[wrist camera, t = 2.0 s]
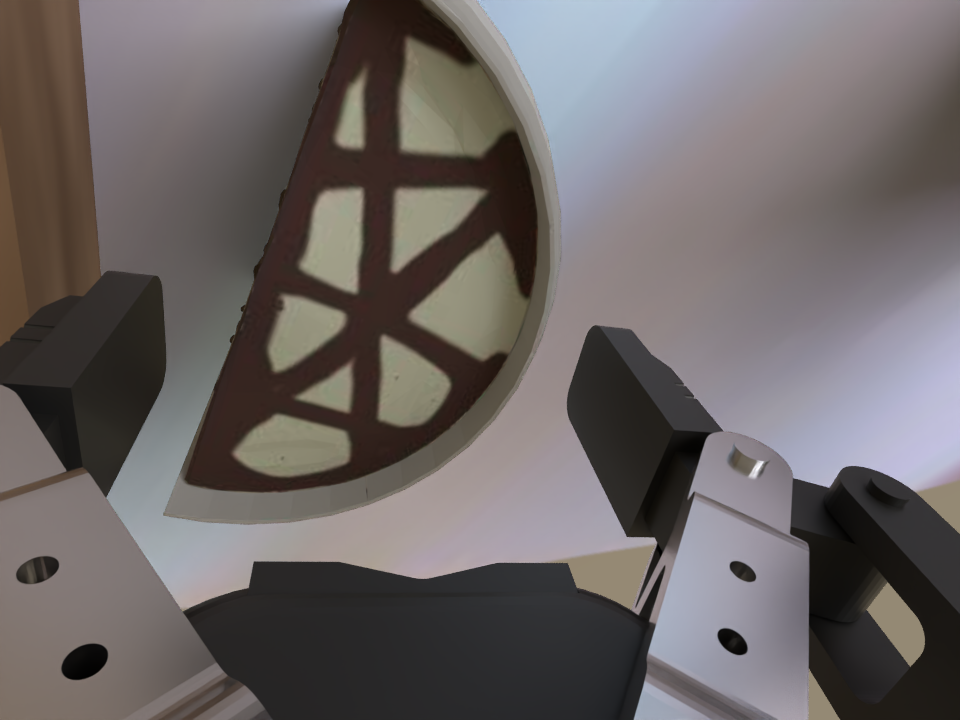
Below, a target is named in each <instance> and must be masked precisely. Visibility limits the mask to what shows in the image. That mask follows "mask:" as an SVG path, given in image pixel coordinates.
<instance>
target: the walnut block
mask: <svg viewBox="0 0 960 720" xmlns="http://www.w3.org/2000/svg"><path fill="white" fill-rule="evenodd" d="M100 278H101V271H100V258H99V246H98V234H97V222H96V209H95V197H94V185H93V172H92V160H91V148H90V136H89V123H88V111H87V99H86V86H85V74H84V62H83V49H82V37H81V25H80V13H79V0H0V347H1V346H2V345H3V344H4V343H5V342H6V341H10V337H11V336H12V335H13V334H14V333H15V332H16V331H17V330H18V329H19V328H20V327H24V323H25V322H26V321H28V320H29V319H30V318H31V317H32V316H33V315H34V314H35V313H36V312H37V311H38V310H39V309H40V308H41V307H43V306H46V305H48V304H50V303H53V302H55V301H57V300H59V299H62V298H64V297H66V296H69V295H73V296H84V295H85V294H86V293H87V292H88V291H89V290H90V289H91V287H92V286H93V285H94V284H95V283H96V282H97V281H98V280H99V279H100Z"/></svg>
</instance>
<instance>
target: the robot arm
mask: <svg viewBox="0 0 960 720" xmlns="http://www.w3.org/2000/svg"><path fill="white" fill-rule="evenodd" d="M165 371H166V343H165V326H164V309H163V293H162V285H161V281H160V279H159V277H158V276H152V275H143V274H134V273H125V272H116V271H107V272H106V273H104V275H103V276H102V277H101V278H100V279H99V280H98V281H97V282H96V283H95V284H94V285H93V286H92V287H91V289H90V290H89V291H88V292H87V293H86V294H85V295H84V296H73V295H69V296H66V297H64V298H62V299H59V300H57V301H55V302H53V303H50V304H48V305H46V306H43V307H41V308H40V309H39V310H38V311H37V312H36V313H35V314H34V315H33V316H32V317H31V318H30V319H29V320H28V321H26V322H25V323H24V327H20V328H19V329H18V330H17V331H16V332H15V333H14V334H13V335H12V336H11V337H10V341H6V342H5V343H4V344H3V345H2V346H1V347H0V720H808V675H809V671H808V670H809V669H810V671H811V673H812V674H813V676H814V678H815V679H816V681H817V682H818V684H819V686H820V687H821V689H822V690H823V692H824V694H825V696H826V697H827V699H828V700H829V702H830V704H831V705H832V707H833V709H834V710H835V712H836V714H837V715H838V717H839V718H840V720H960V534H959V533H958V532H957V531H956V530H955V529H954V528H953V527H952V526H951V525H950V524H948V523H947V522H946V521H945V520H944V519H943V518H942V517H941V516H940V515H939V514H938V513H937V512H936V511H935V510H934V509H933V508H932V507H931V506H930V505H928V504H927V503H926V502H925V501H924V500H923V499H922V498H921V497H920V496H919V495H918V494H917V493H915V492H914V491H913V490H911V489H910V488H909V487H907V486H905V485H904V484H902V483H901V482H899V481H897V480H895V479H894V478H892V477H890V476H888V475H885V474H883V473H880V472H878V471H875V470H872V469H868V468H865V467H859V466H849V467H845V468H843V469H842V470H841V471H840V472H839V474H838V476H837V477H836V479H835V480H834V482H833V483H832V485H831V487H830V488H828V487H824V486H820V485H816V484H813V483H809V482H805V481H802V480H798V479H794V478H793V474H792V471H791V468H790V467H789V465H788V464H787V462H786V461H785V460H784V459H783V458H782V457H781V456H780V455H779V454H778V453H776V452H775V451H774V450H772V449H771V448H769V447H768V446H766V445H764V444H763V443H761V442H759V441H757V440H755V439H752V438H750V437H747V436H744V435H741V434H737V433H732V432H724V431H723V430H722V429H721V428H720V427H719V425H718V424H717V423H716V422H715V421H714V419H713V418H712V417H711V416H710V415H709V413H708V412H707V411H706V410H705V409H704V407H703V406H702V405H701V404H700V403H699V401H698V400H697V399H694V395H693V394H692V393H691V392H690V390H689V389H688V388H687V387H686V386H683V384H684V383H683V382H682V381H681V380H680V378H679V377H678V376H677V375H676V374H675V372H674V371H673V370H672V369H671V368H670V367H668V366H667V365H666V364H664V363H663V362H661V361H660V360H658V359H657V358H656V357H654V356H653V355H651V353H650V352H649V351H648V350H647V349H646V347H645V346H644V345H643V344H642V342H641V341H640V340H639V339H638V337H637V336H636V335H635V334H634V332H633V331H632V330H630V329H623V328H614V327H605V326H593V327H592V328H591V329H590V330H589V332H588V334H587V336H586V338H585V342H584V345H583V348H582V351H581V354H580V357H579V360H578V363H577V366H576V369H575V372H574V376H573V379H572V382H571V385H570V388H569V392H568V397H567V412H568V417H569V420H570V422H571V424H572V426H573V428H574V430H575V432H576V434H577V436H578V438H579V440H580V442H581V444H582V446H583V448H584V450H585V452H586V454H587V456H588V458H589V460H590V463H591V465H592V467H593V469H594V471H595V473H596V475H597V477H598V479H599V481H600V483H601V485H602V487H603V489H604V491H605V493H606V495H607V497H608V499H609V501H610V503H611V505H612V507H613V509H614V511H615V513H616V515H617V517H618V520H619V522H620V524H621V526H622V528H623V530H624V532H625V534H626V536H627V537H655V539H656V541H657V543H656V545H655V547H654V550H653V552H652V554H651V556H650V558H649V561H648V564H647V567H646V569H645V572H644V575H643V578H642V581H641V584H640V586H639V589H638V592H637V595H636V598H635V600H634V603H633V606H632V609H631V610H630V609H628V608H626V607H624V606H623V605H621V604H619V603H617V602H615V601H613V600H611V599H608V598H606V597H603V596H601V595H598V594H596V593H592V592H589V591H586V590H584V589H579V588H576V585H575V582H574V579H573V577H572V574H571V571H570V568H569V566H568V564H567V563H495V564H491V565H486V566H482V567H478V568H473V569H469V570H465V571H460V572H456V573H452V574H447V575H443V576H438V577H434V578H429V579H416V578H411V577H406V576H401V575H397V574H392V573H387V572H383V571H378V570H373V569H369V568H364V567H359V566H355V565H350V564H346V563H341V562H254V564H253V569H252V574H251V579H250V585H249V588H247V589H243V590H239V591H234V592H231V593H228V594H224V595H221V596H218V597H215V598H212V599H210V600H207V601H205V602H202V603H200V604H198V605H195V606H193V607H191V608H189V609H187V610H185V611H183V612H182V610H181V609H180V607H179V606H178V604H177V603H176V601H175V600H174V598H173V597H172V595H171V594H170V592H169V591H168V589H167V588H166V586H165V585H164V583H163V582H162V581H161V579H160V578H159V576H158V575H157V573H156V572H155V570H154V569H153V567H152V566H151V564H150V563H149V561H148V560H147V558H146V557H145V555H144V554H143V552H142V551H141V549H140V548H139V546H138V545H137V543H136V542H135V540H134V539H133V537H132V536H131V534H130V533H129V532H128V530H127V529H126V527H125V526H124V524H123V523H122V521H121V520H120V518H119V517H118V515H117V514H116V512H115V511H114V509H113V508H112V506H111V505H110V503H109V502H108V500H107V499H106V497H107V495H108V493H109V491H110V489H111V487H112V485H113V483H114V481H115V479H116V477H117V475H118V473H119V471H120V469H121V467H122V465H123V463H124V461H125V460H126V458H127V456H128V454H129V452H130V450H131V448H132V446H133V444H134V442H135V440H136V438H137V436H138V434H139V432H140V430H141V428H142V426H143V424H144V422H145V420H146V418H147V416H148V414H149V412H150V410H151V408H152V407H153V405H154V403H155V401H156V399H157V397H158V395H159V393H160V391H161V388H162V385H163V382H164V377H165ZM887 582H888V583H889V584H890V585H891V586H892V587H893V589H894V590H895V591H896V592H897V593H898V594H899V596H900V597H901V598H902V599H903V600H904V602H905V603H906V604H907V605H908V607H909V608H910V609H911V610H912V611H913V613H914V614H915V615H916V616H917V617H918V619H919V621H920V623H921V625H922V627H923V631H924V635H925V647H924V651H923V653H922V654H921V656H920V657H919V658H918V659H917V660H916V662H915V663H914V664H913V665H912V666H911V667H910V666H909V665H908V664H907V662H906V661H905V660H904V658H903V657H902V656H901V654H900V653H899V652H898V650H897V649H896V648H895V647H894V645H893V644H892V643H891V642H890V640H889V639H888V638H887V636H886V635H885V633H884V632H883V631H882V630H881V628H880V627H879V626H878V624H877V623H876V622H875V620H874V619H873V618H872V617H871V615H870V614H869V613H868V611H867V610H866V609H867V608H868V607H869V606H870V604H871V603H872V601H873V600H874V599H875V597H876V596H877V595H878V594H879V593H880V591H881V590H882V589H883V587H884V586H885V585H886V584H887Z"/></svg>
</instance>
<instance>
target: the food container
mask: <svg viewBox="0 0 960 720" xmlns="http://www.w3.org/2000/svg"><path fill="white" fill-rule="evenodd" d="M319 90H320V91H319V94H318V96H317V99H316V102H315V104H314V106H313V108H312V113H311V116H310V118H309V120H308V125H307V128H306V130H305V133H304V136H303V139H302V142H301V145H300V149H299V152H298V155H297V158H296V161H295V164H294V167H293V170H292V173H291V176H290V179H289V182H288V185H287V187H286V189H284V190H283V192H282V193H281V196H280V201H279V211H278V214H277V217H276V220H275V223H274V226H273V228H272V231H271V234H270V237H269V240H268V243H267V244H266V245H265V247H264V254H263V256H262V258H261V259H260V261H259V262H258V264H257V265H256V266H255V268H254V282H253V284H252V287H251V290H250V293H249V296H248V299H247V302H246V305H244V306H242V307H241V311H242V312H243V314H242V317H241V320H240V321H239V322H238V325H237V328H236V333H235V335H233V336H232V337H231V338H230V342H231V346H230V349H229V351H228V354H227V356H226V359H225V362H224V364H223V367H222V369H221V372H220V374H219V377H218V379H217V382H216V384H215V386H214V389H213V392H212V394H211V397H210V399H209V402H208V404H207V407H206V409H205V412H204V414H203V417H202V419H201V422H200V424H199V427H198V429H197V432H196V434H195V436H194V439H193V441H192V444H191V446H190V449H189V451H188V454H187V456H186V459H185V461H184V464H183V466H182V469H181V471H180V474H179V476H178V479H177V481H176V484H175V486H174V489H173V491H172V494H171V496H170V499H169V501H168V504H167V506H166V509H165V511H164V514H163V515H164V516H170V517H176V518H182V519H188V520H195V521H201V522H212V523H230V524H267V523H287V522H295V521H301V520H307V519H313V518H319V517H325V516H331V515H335V514H338V513H342V512H345V511H349V510H352V509H356V508H359V507H363V506H366V505H369V504H372V503H374V502H376V501H379V500H381V499H384V498H386V497H388V496H391V495H393V494H396V493H398V492H400V491H403V490H405V489H407V488H408V487H410V486H412V485H414V484H415V483H417V482H419V481H421V480H422V479H424V478H426V477H427V476H429V475H431V474H433V473H434V472H436V471H438V470H439V469H440V468H442V467H443V466H444V465H446V464H447V463H448V462H449V461H451V460H452V459H453V458H455V457H456V456H457V455H459V454H460V453H461V452H462V451H464V450H465V449H466V448H468V447H469V446H470V445H471V444H472V443H473V442H474V441H475V439H476V438H477V437H478V436H479V435H480V434H481V433H482V432H483V431H484V430H485V429H486V428H487V427H488V426H489V425H490V424H491V423H492V422H493V421H494V420H495V419H496V417H497V416H498V415H499V413H500V412H501V410H502V409H503V408H504V406H505V405H506V403H507V402H508V401H509V399H510V398H511V396H512V395H513V394H514V392H515V391H516V390H517V388H518V386H519V384H520V382H521V380H522V378H523V376H524V374H525V372H526V370H527V369H528V367H529V365H530V363H531V361H532V359H533V357H534V355H535V353H536V350H537V347H538V345H539V343H540V341H541V339H542V336H543V333H544V330H545V327H546V324H547V320H548V317H549V314H550V311H551V308H552V305H553V302H554V297H555V291H556V284H557V278H558V272H559V265H560V259H561V211H560V205H559V199H558V193H557V187H556V181H555V175H554V169H553V163H552V157H551V152H550V146H549V141H548V137H547V134H546V131H545V128H544V125H543V122H542V119H541V116H540V113H539V110H538V107H537V104H536V101H535V99H534V96H533V93H532V90H531V88H530V86H529V84H528V82H527V80H526V78H525V76H524V74H523V72H522V70H521V68H520V67H519V65H518V63H517V61H516V59H515V57H514V55H513V53H512V51H511V49H510V47H509V46H508V44H507V42H506V40H505V38H504V37H503V36H502V34H501V33H500V32H499V30H498V29H497V27H496V26H495V25H494V23H493V22H492V21H491V19H490V18H489V17H488V15H487V14H486V13H485V11H484V10H483V8H482V7H481V6H480V4H479V3H478V2H477V0H350V1H349V3H348V5H347V8H346V10H345V12H344V16H343V21H342V24H341V25H340V26H339V27H338V39H337V40H336V45H335V48H334V51H333V53H332V56H331V59H330V62H329V65H328V68H327V71H326V73H325V76H324V78H323V79H322V80H321V81H320V83H319Z"/></svg>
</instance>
